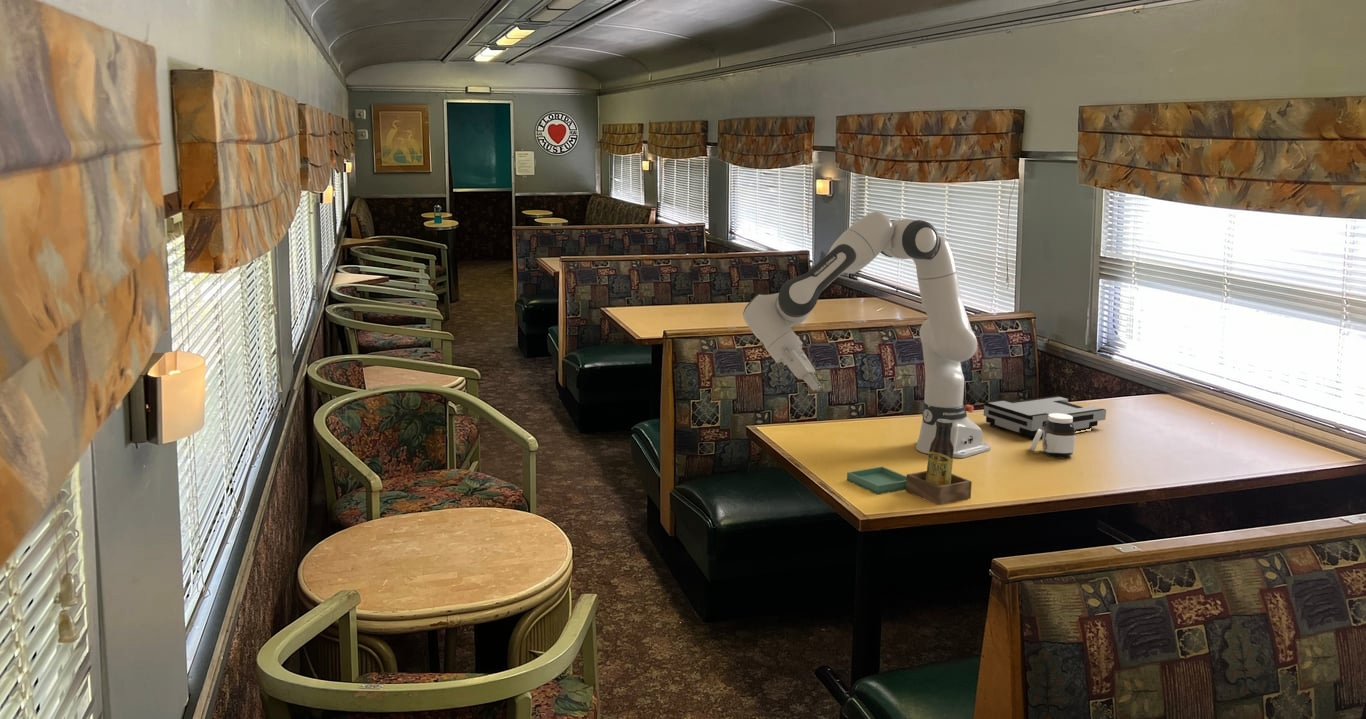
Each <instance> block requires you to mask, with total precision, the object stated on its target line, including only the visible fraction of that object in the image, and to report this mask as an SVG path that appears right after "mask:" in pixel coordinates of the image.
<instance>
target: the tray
mask: <svg viewBox="0 0 1366 719" xmlns="http://www.w3.org/2000/svg"><path fill="white" fill-rule="evenodd" d="M906 477H907V475H905V474H902V473H899V472H897V471H895V470H892V469H890V468H887V467H885V466H878V467H872V468H871V467H870V468H866V469H865V468H864V469H860V470H859V469H858V470H853V471H848V472H846V482H848V483H849V482H850V483H851V484H853V483H854V484H853V485H856V486H858V487H860V488H863V489H865V490H867V491H869V492H871V493H874V494H875V493H876V495H883V493H884V494H888V492H889V493H894V492H893V491H895V492H899V490H900V491H904V490H905V491H906Z"/></svg>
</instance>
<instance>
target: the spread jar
mask: <svg viewBox="0 0 1366 719" xmlns="http://www.w3.org/2000/svg"><path fill="white" fill-rule="evenodd" d="M1072 422H1073V417H1072V416H1071V415H1067V414H1061V413H1052V414H1049V415H1048V421H1047V422H1046V423H1045V425H1044V428H1043V430H1041V429H1038V431H1037V433H1036V435H1035V437H1034V439H1032V441H1031V443H1030V446H1029V451H1032V452H1034V451H1035V450H1036V448H1037V447H1038V444H1039V442H1040V441H1041V447H1042V451H1043V453H1044V455H1046V456H1048V455H1049V457H1051V456H1054V457H1053V458H1057V457H1066V458H1069V457H1070V456H1073V454H1074V453H1075V452H1074V451H1075V447H1076V446H1075V445H1076V434H1075V429H1074V426H1073V424H1072ZM1042 433H1043V437H1042V439H1040V438H1041V435H1042ZM1068 456H1069V457H1068Z"/></svg>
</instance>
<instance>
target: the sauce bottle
mask: <svg viewBox="0 0 1366 719" xmlns="http://www.w3.org/2000/svg"><path fill="white" fill-rule="evenodd" d="M952 424H953V422H952V421H951V420H948V419H937V421H936V426H937V427H936V434H935V438H934V440H933V441H932V443H931V446H930V450H929V454H928V457H927V467H926V471H927V474H926V481H927V482H930V483H932V484H935V485H937V486H943V485H948V484H951V474H953V473H952V472H953V471H952V470H953V463H954V457H953V451H954V447H953V444H952V442H951V439H950V438H951V428H952Z"/></svg>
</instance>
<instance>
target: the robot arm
mask: <svg viewBox="0 0 1366 719" xmlns="http://www.w3.org/2000/svg"><path fill="white" fill-rule="evenodd" d="M879 254H881V255H884V256H885V257H888V258H895V259H901V260H907V259H908V260H909V259H912V261H913V262H914V265H915V268H916V276H917V282H918V284H917V285H918V289H919V295H920V300H921V305H922V307H923V309H924V311H925V314H926V316H927V319H926V320H925V321H924V322H923V323H922V324H921V326H920V328H919V339H920V341H921V346H922V356H923V362H924V363H923V364H924V370H925V371H924V372H925V381H924V382H925V383H924V385H925V386H924V401H923V402H922V408H921V409H922V410H921V414H922V420H921V424H920V431H919V435H918V439H917V443H916V446H915V448H916V450H917V451H919V452H920V453H924V454H927V455H929V450H930V446H931V443H932V441H933V440H934V438H935V434H936V427H937V426H936V421H937V419H948V420H951V421H952V422H953V424H952V428H951V438H950V439H951V442H952V444H953V447H954V451H953V458H959V459H964V458H968V457H970V456H974V455H978V454H981V453H985V452H988V451H991V446H990V444H988V443H986V442H985V441H984V435H983V430H982V428H981V427H980V426H979V425H977V424H976V422H975V421H973V420H971V418H969V417H968V415H967V412H969V413H973V412H974V409H975V407H974V406H973V405H970V404H966V405H965V404H964V392H965V390H964V389H965V376H964V373H963V370H962V369H963V368H962V364H961V362H966V361H968V360H970V359H972V358H973V356H974V355H975V354H976V352H977V350H978V340H977V337H976V335H975V333H974V331H973V329H972V326H971V323H970V320H969V317H968V314H967V311H966V309H965V308H966V307H965V306H964V302H963V299H962V295H961V291H960V284H959V278H958V277H959V276H958V271H957V266H956V262H955V258H954V254H953V252H952V248H951V246H950V243H949V241H948V240H947V239H946V238H945V237H943V236H941V235H939V233H938V231H937V229H936V228H935V226H934V225H933V224H931V223H930V222H927V221H925V220H922V219H917V220H916V219H910V218H903V219H897V220H895V219H890V218H889V217H888V216H887V215H886V214H884V213H882V212H878V211H873V212H872V211H871V212H869V213H868V214H866V215H865V216H863V217H861V218H860V219H859V220H857V221H855V222H854V223H853V224H852V225H850V226H849V227H848V228H847V229H846V230H845V231H843V233H842V234H840V236H839V237H838V238H837V239H836V240H835V241H834V243H833V244H832V245H831V247H830V249H829V251H828V253H826V255H825V256H824V257H823V258H822V259H821V260H819V262H817V263H816V264H815V265H814V266H813V267H812V268H811V269H809V270H808V271H806V273H804V274H801V275H798V276H795V277H792V278H790V279H788V280H786V281H785V282H784V283H782V285H781V287H780V289H779V291H778V293H777V292H776V293H771V294H757V295H756V296H754V297H753V298H752V299H751V300H750V301H749V302H748V303H747V305H746V306H745V308H743V312H742V317H743V319H744V322H745V323H746V325H747V326H748V328H749V329H750V331H751V332H752V333H753V335H754V336H755V337H756V339H758V340H759V341H761V342H762V344H763V345H764V348H765V350H766V351H767V352H768V354H769V355H770V357H771V358H772V359H773V361H775V363H776V364H780V363H782V364H783V365H784V366H787V367H788V369H789V370H790V371H791V372H792V373H793V375H794V376H795V377H796V378H797V379H798V380H799V379H800V380H803V381H804V382H805V384H806V385H807V386H809V388H810V389H811V390H812V391H820V390H821V389H822V388H823V385H822V384H821V383H820V381H819V380H818V378H817V376H816V375H815V373H816V369H815V367H814V366H813V364H812V363H811V361H810V360H809V358H808V357H807V355H806V353H805V351H804V350H803V344H804V343H803V341H802V340H801V339H800V338H799V336H798V335H797V334H796V333H795V332H794V330H793V329H792V328H794V327H796V326H798V325H801V324H802V323H803V322H805V320H807V319H808V317H809V315H810V313H811V311H813V309H814V308H815V307H816V305H817V302H818V300H819V297H820V295H821V293H822V292H823V291H824V290H825V289H826V288H828V286H829V285H830V284H832V282H834V281H835V280H836V279H837V278H838V277H840V276H841V275H842V274H850V275H851V274H856V273H858V272H859V271H861V270H862V269H864V268H865V267H866V266H868V265H869V264H870V263H872V261H873V260H875V259H876V257H878V255H879Z"/></svg>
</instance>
